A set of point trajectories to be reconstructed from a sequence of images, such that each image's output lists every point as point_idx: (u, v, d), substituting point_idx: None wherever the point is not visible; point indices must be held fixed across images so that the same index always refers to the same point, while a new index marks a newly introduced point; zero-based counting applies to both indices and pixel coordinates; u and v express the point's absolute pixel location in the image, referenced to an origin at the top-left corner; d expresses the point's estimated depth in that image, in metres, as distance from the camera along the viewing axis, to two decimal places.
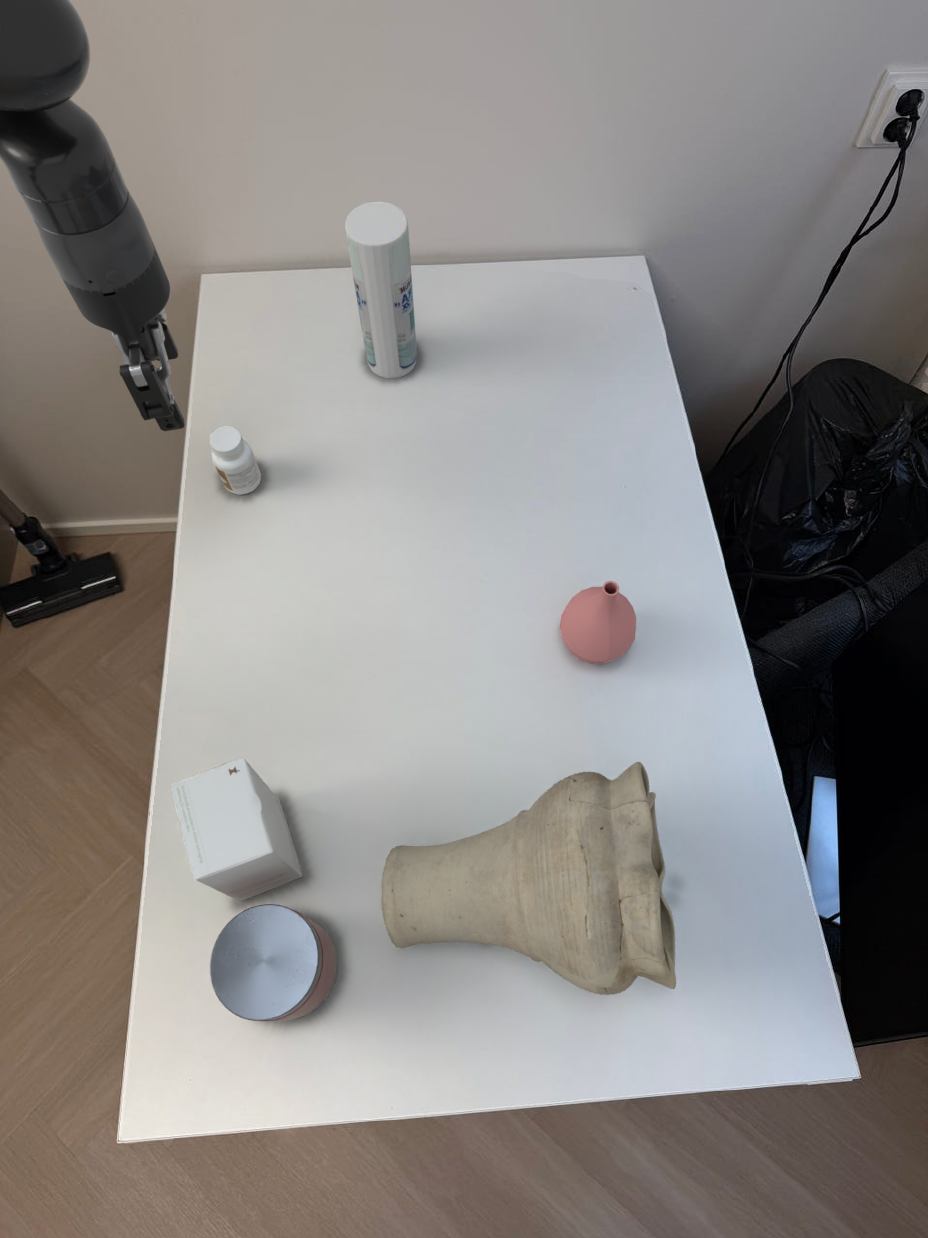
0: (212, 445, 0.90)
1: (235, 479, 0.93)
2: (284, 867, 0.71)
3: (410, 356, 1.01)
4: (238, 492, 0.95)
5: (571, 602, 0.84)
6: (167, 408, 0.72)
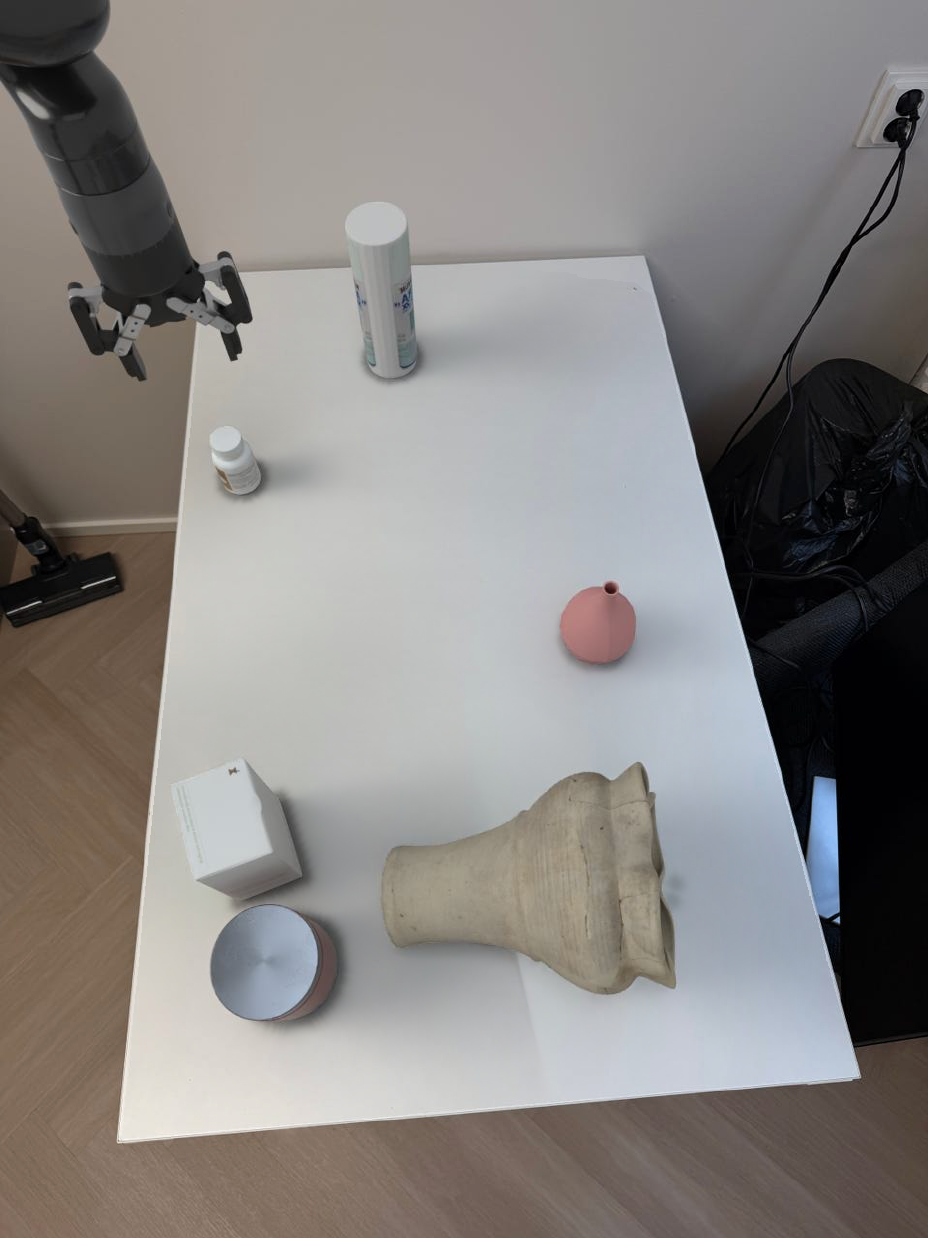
0: (212, 445, 0.90)
1: (236, 479, 0.93)
2: (284, 867, 0.71)
3: (410, 356, 1.01)
4: (238, 492, 0.95)
5: (571, 602, 0.84)
6: (87, 344, 0.72)
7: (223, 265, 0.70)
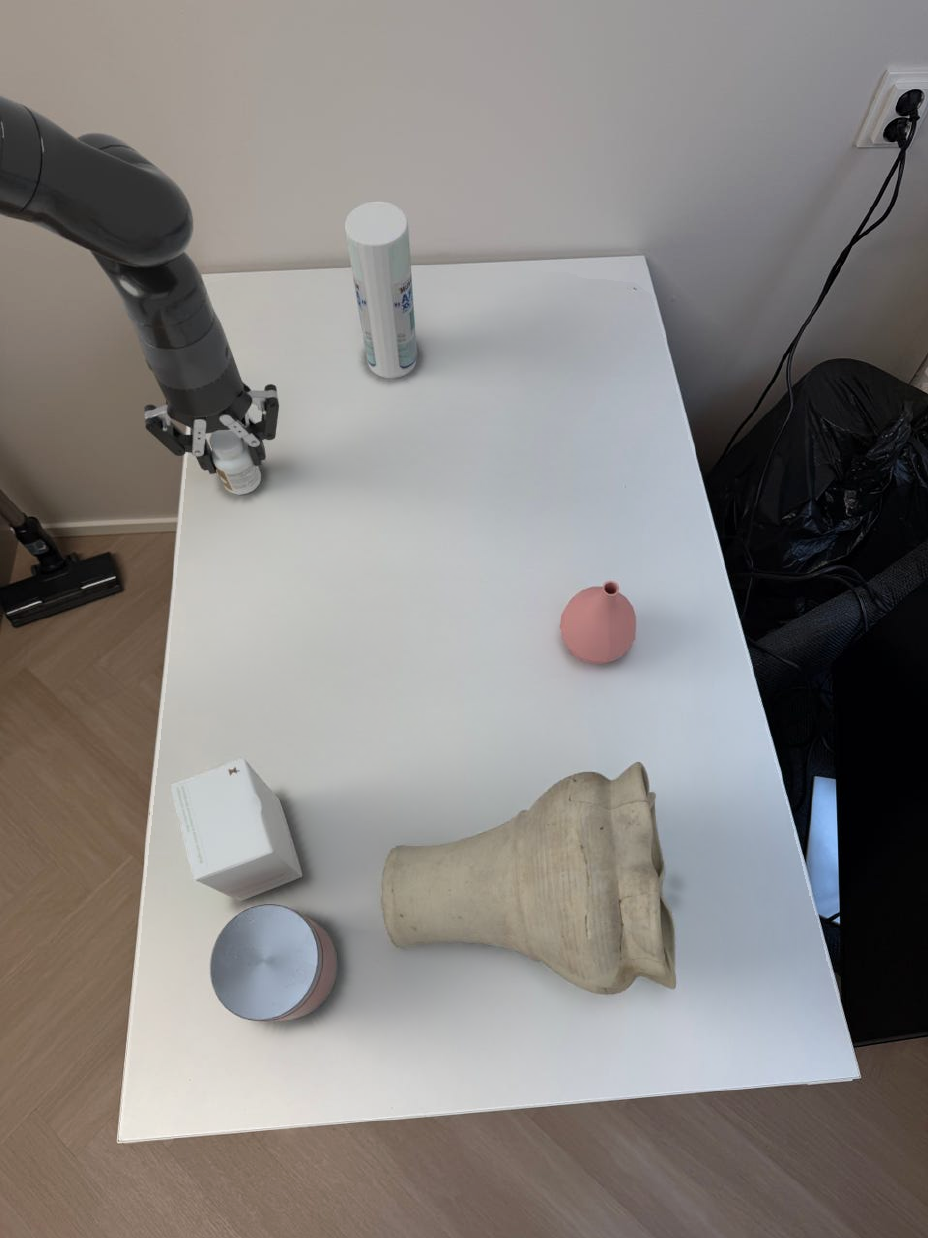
0: (212, 445, 0.90)
1: (236, 479, 0.93)
2: (284, 867, 0.71)
3: (410, 356, 1.01)
4: (238, 492, 0.95)
5: (571, 602, 0.84)
6: (171, 448, 0.88)
7: (271, 396, 0.85)
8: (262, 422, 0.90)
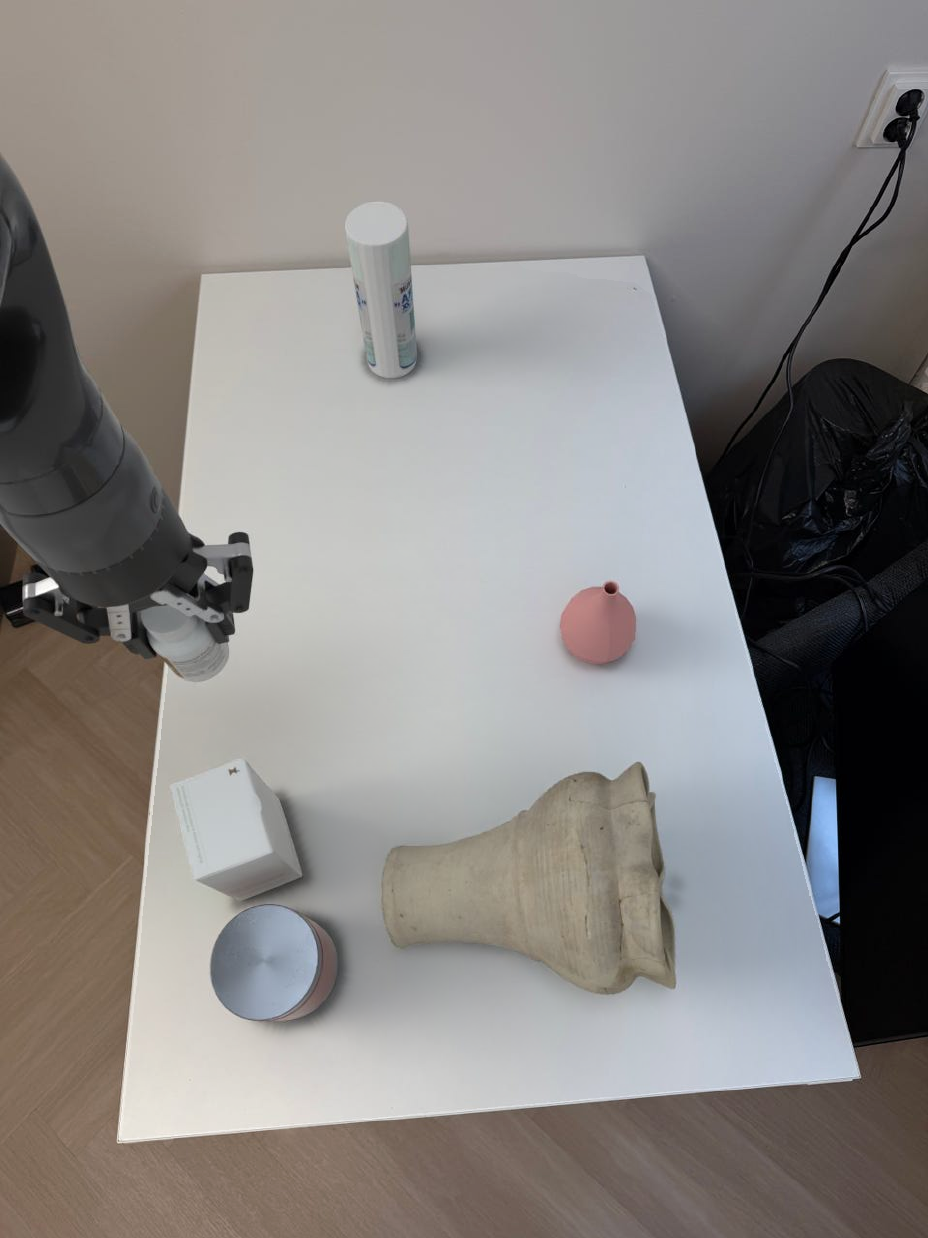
0: (145, 623, 0.54)
1: (187, 666, 0.58)
2: (284, 867, 0.71)
3: (410, 356, 1.01)
4: (193, 680, 0.60)
5: (571, 602, 0.84)
6: (75, 635, 0.53)
7: (239, 555, 0.50)
8: (227, 585, 0.55)
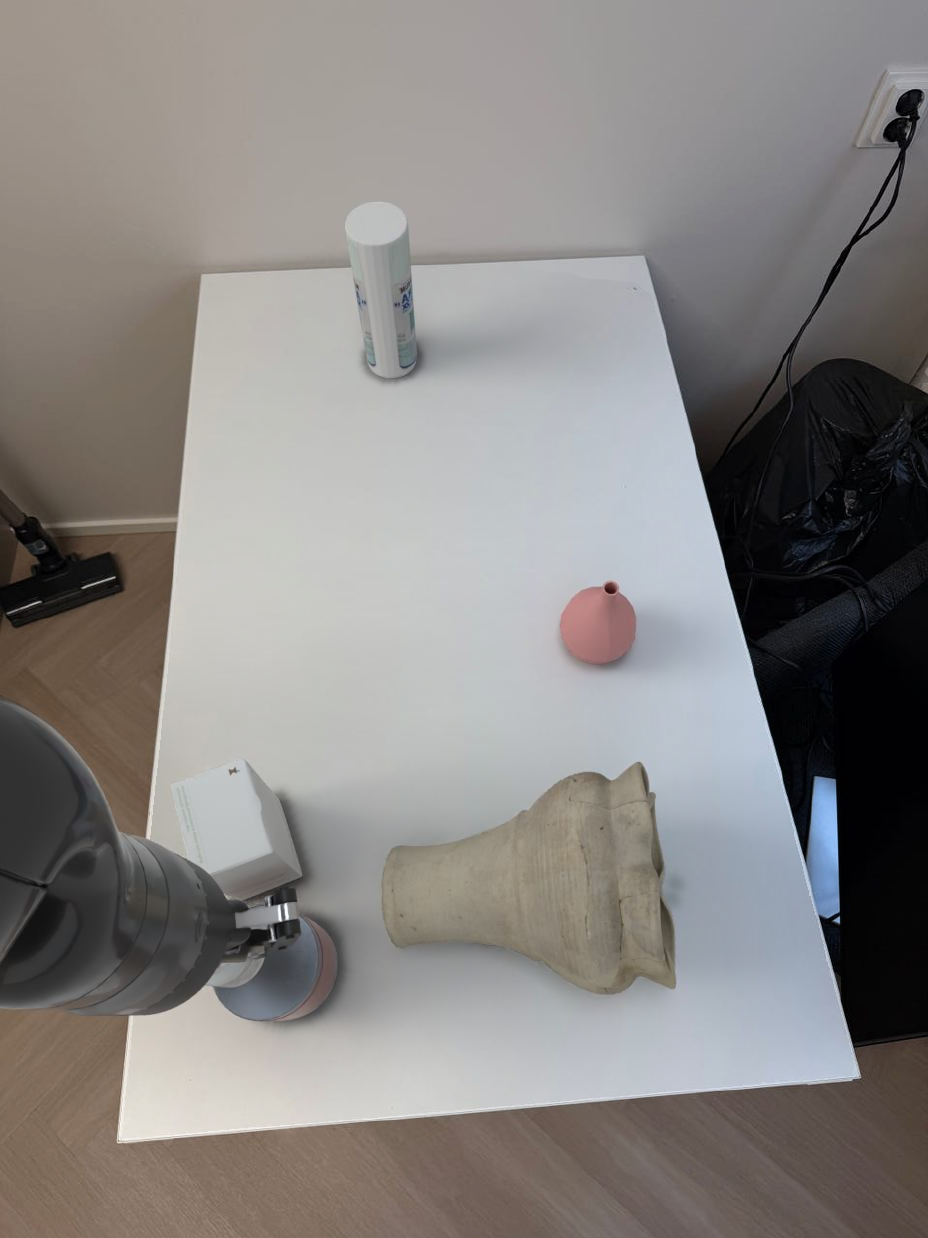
0: None
1: (222, 986, 0.53)
2: (284, 867, 0.71)
3: (410, 356, 1.01)
4: None
5: (571, 602, 0.84)
6: None
7: (286, 919, 0.45)
8: None
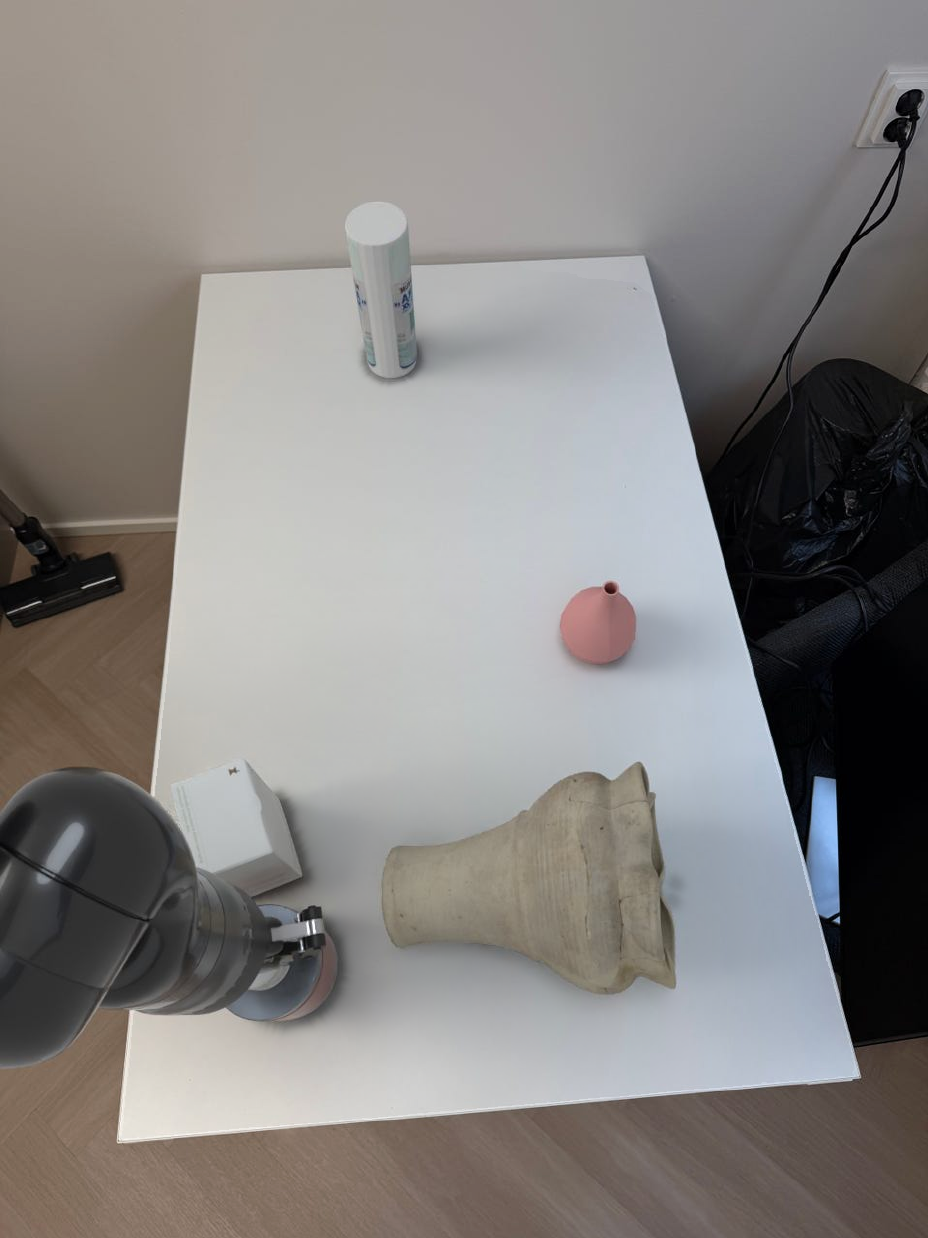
0: None
1: (254, 989, 0.61)
2: (284, 867, 0.71)
3: (410, 356, 1.01)
4: None
5: (571, 602, 0.84)
6: None
7: (313, 933, 0.53)
8: None
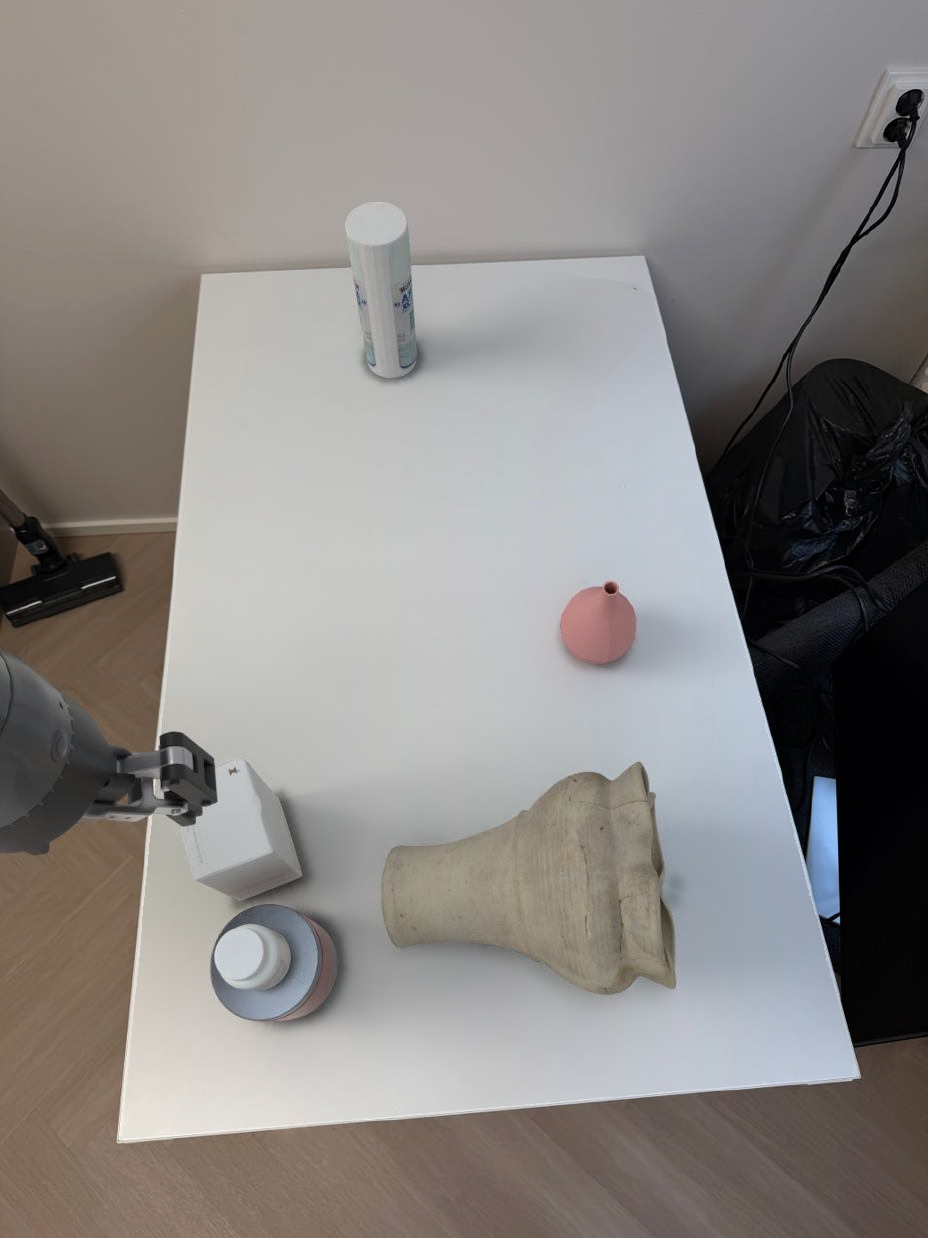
0: (219, 968, 0.58)
1: (254, 989, 0.61)
2: (284, 867, 0.71)
3: (410, 356, 1.01)
4: None
5: (571, 602, 0.84)
6: None
7: (166, 764, 0.41)
8: None
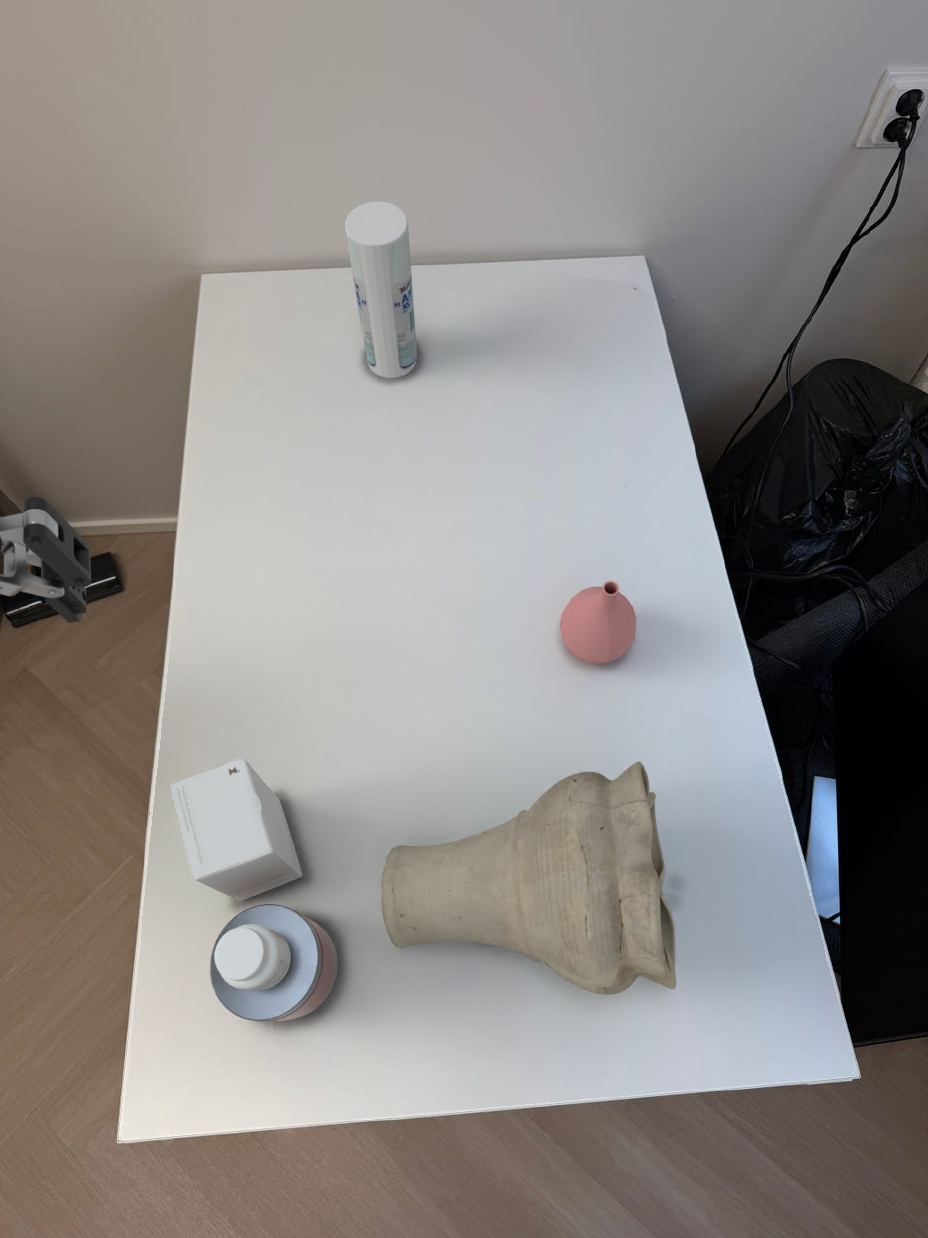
0: (219, 968, 0.58)
1: (254, 989, 0.61)
2: (284, 867, 0.71)
3: (410, 356, 1.01)
4: None
5: (571, 602, 0.84)
6: None
7: (27, 524, 0.44)
8: None
